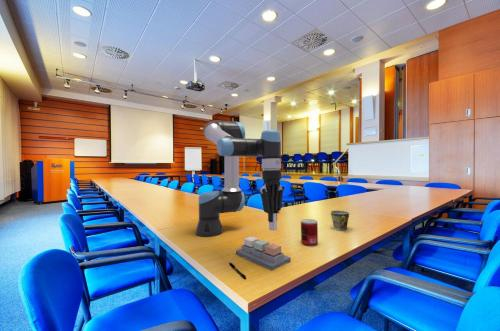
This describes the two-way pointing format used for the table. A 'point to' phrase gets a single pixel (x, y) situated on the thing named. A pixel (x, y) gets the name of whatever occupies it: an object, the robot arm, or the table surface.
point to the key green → (260, 245)
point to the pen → (237, 271)
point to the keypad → (263, 257)
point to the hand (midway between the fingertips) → (273, 229)
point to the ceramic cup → (340, 220)
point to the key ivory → (250, 241)
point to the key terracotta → (273, 249)
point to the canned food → (309, 232)
